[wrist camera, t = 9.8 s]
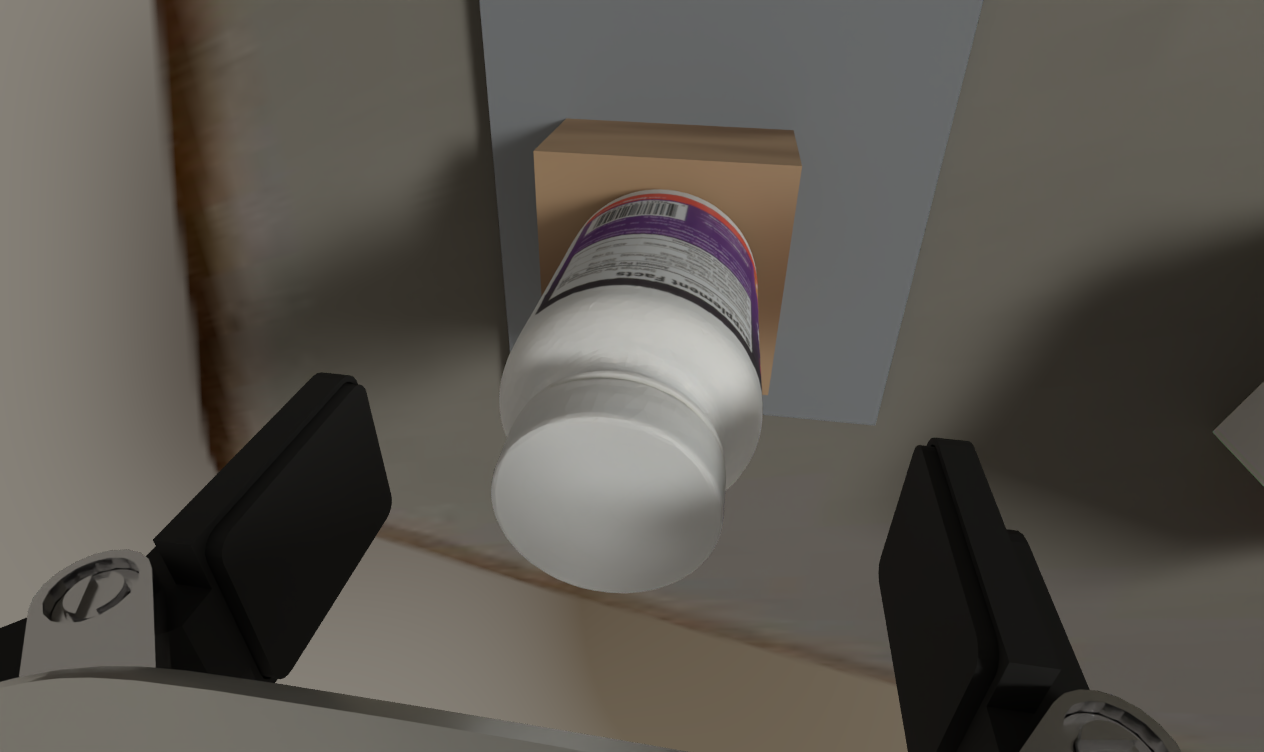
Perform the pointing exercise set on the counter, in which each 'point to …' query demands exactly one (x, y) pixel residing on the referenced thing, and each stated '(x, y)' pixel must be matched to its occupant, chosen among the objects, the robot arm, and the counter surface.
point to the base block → (681, 161)
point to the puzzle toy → (1246, 433)
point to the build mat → (755, 98)
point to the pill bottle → (632, 397)
